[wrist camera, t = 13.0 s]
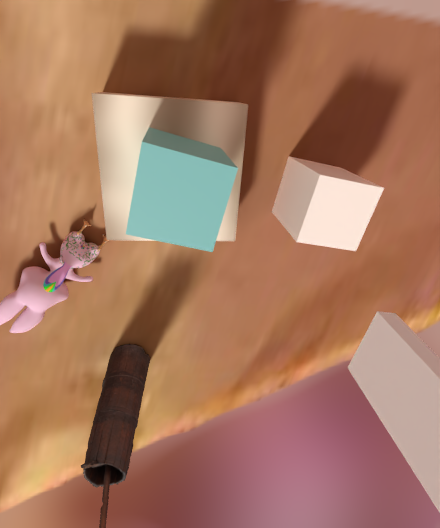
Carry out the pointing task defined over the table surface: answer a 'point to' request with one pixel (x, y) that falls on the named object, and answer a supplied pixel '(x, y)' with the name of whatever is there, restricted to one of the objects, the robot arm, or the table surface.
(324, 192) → the off-white block
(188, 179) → the teal block
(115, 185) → the birch base
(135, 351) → the butter churn
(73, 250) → the pink animal figurine
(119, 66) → the table surface
